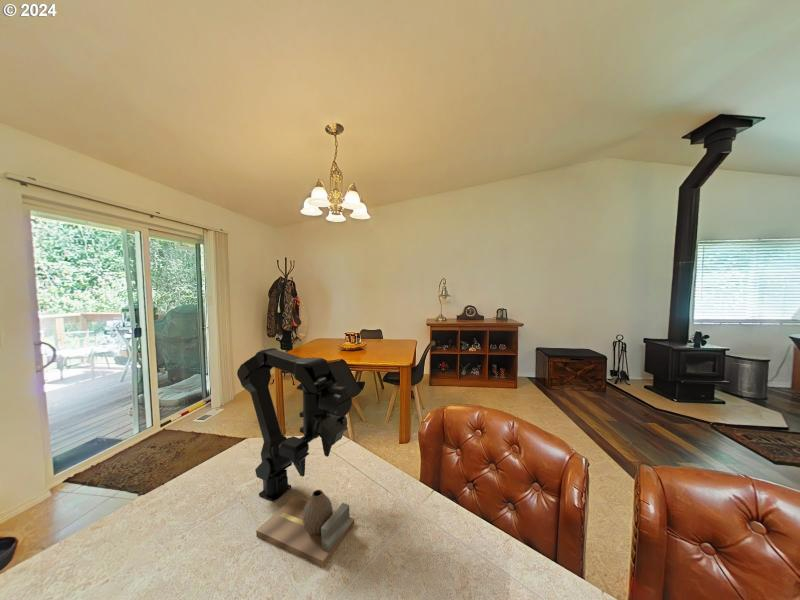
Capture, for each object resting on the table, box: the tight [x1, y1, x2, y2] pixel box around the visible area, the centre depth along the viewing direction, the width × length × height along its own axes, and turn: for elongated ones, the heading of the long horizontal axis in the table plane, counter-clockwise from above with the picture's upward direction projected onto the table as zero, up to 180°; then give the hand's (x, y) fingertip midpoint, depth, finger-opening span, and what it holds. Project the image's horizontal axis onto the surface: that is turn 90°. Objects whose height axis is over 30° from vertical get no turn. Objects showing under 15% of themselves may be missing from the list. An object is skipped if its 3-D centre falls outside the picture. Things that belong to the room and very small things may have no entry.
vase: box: [303, 489, 334, 535], centre depth 68 cm, size 7×7×9 cm
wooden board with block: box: [255, 496, 355, 569], centre depth 69 cm, size 20×12×6 cm, turn 66°
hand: (315, 465), depth 75 cm, fingers open, 9 cm apart
